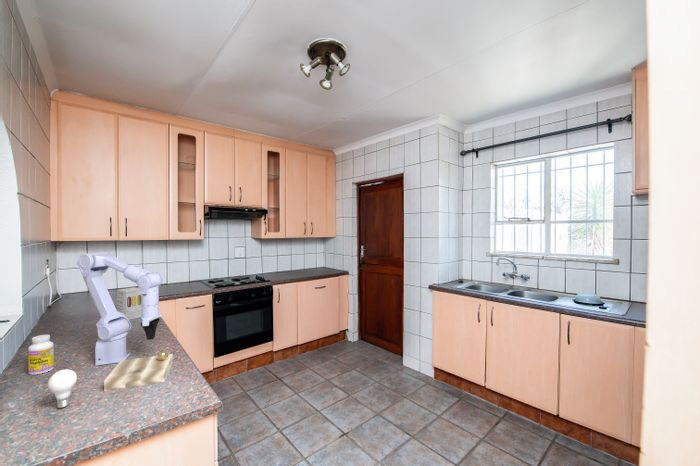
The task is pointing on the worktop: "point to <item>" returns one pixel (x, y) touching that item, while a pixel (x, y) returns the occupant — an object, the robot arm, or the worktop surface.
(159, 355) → the brass ball
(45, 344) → the supplement bottle
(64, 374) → the lightbulb
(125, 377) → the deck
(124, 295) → the supplement box
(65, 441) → the worktop surface
